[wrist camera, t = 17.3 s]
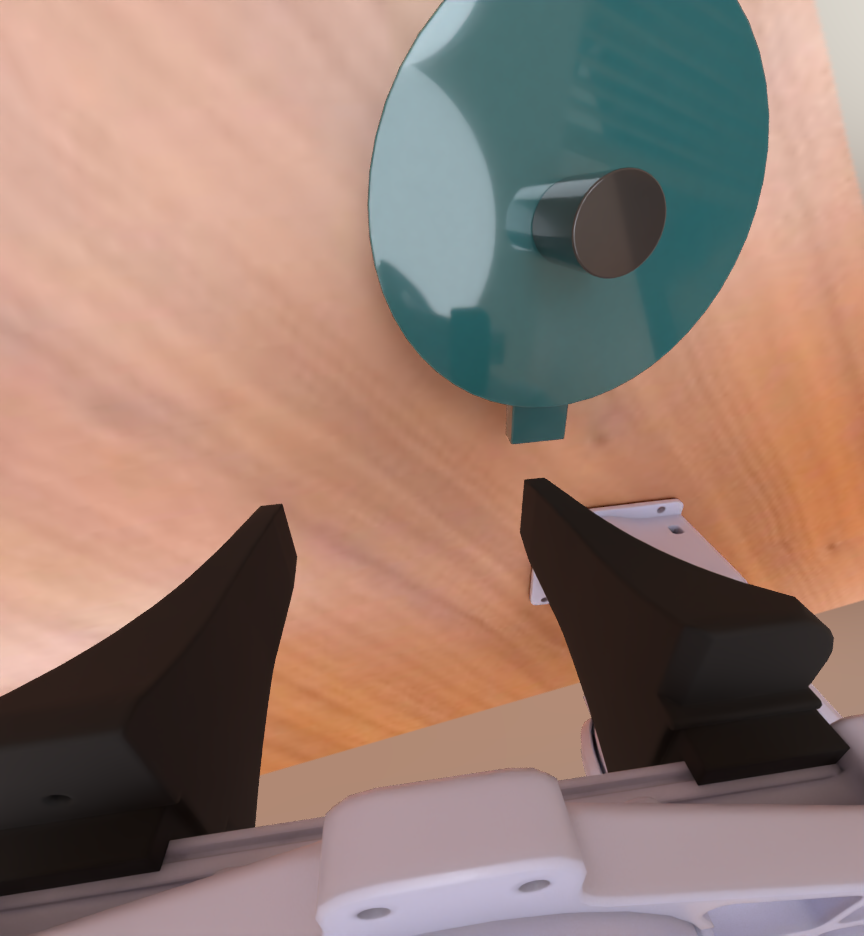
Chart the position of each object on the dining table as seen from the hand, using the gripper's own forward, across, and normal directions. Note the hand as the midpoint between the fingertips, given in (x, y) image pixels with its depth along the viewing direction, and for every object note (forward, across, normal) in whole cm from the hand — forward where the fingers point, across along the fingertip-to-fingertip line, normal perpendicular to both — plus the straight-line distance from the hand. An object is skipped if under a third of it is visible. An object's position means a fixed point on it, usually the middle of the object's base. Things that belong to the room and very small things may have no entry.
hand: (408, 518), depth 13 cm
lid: (+5, -6, -7) cm, 11 cm away
